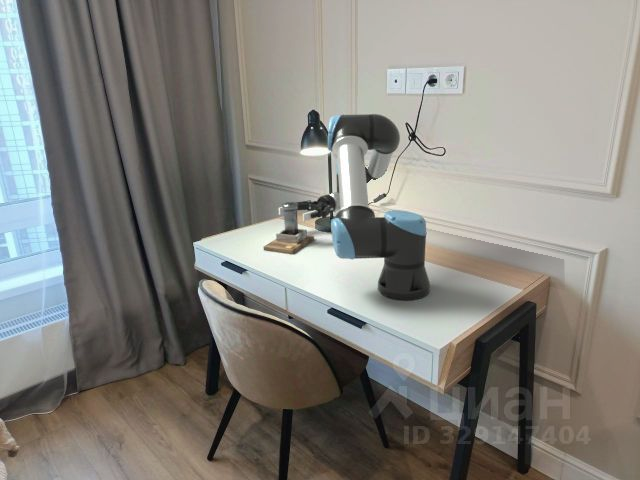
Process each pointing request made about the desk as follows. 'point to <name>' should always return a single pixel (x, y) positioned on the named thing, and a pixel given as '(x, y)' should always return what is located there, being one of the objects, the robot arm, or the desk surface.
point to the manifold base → (289, 242)
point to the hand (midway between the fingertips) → (290, 214)
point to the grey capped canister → (290, 218)
